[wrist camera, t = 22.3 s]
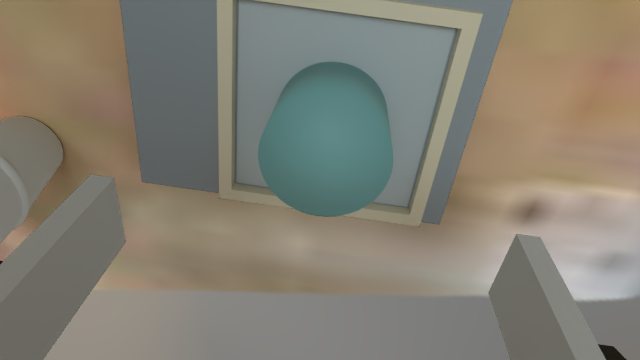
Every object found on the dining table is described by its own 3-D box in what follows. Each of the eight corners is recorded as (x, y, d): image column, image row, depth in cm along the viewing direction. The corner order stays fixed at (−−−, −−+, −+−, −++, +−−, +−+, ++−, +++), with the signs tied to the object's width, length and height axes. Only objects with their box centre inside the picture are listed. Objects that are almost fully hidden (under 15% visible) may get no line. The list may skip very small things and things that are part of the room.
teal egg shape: (281, 54, 23) (260, 87, 19) (397, 70, 23) (406, 107, 18) (274, 156, 27) (255, 207, 22) (376, 171, 26) (379, 224, 22)
